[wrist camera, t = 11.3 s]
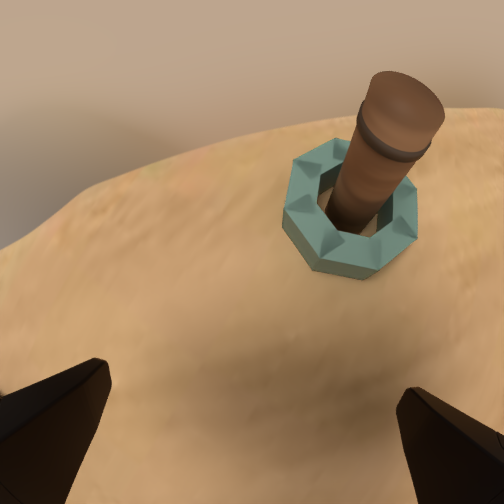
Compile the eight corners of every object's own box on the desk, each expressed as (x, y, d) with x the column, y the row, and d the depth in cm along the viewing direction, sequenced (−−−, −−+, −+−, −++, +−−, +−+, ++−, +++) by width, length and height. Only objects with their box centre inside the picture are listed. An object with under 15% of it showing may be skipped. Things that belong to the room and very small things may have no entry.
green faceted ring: (419, 234, 20) (439, 219, 17) (333, 302, 19) (345, 296, 16) (351, 149, 23) (360, 125, 19) (261, 200, 22) (259, 177, 19)
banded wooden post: (375, 223, 21) (459, 117, 8) (341, 247, 20) (416, 142, 8) (348, 189, 22) (401, 64, 9) (314, 210, 21) (349, 80, 9)
